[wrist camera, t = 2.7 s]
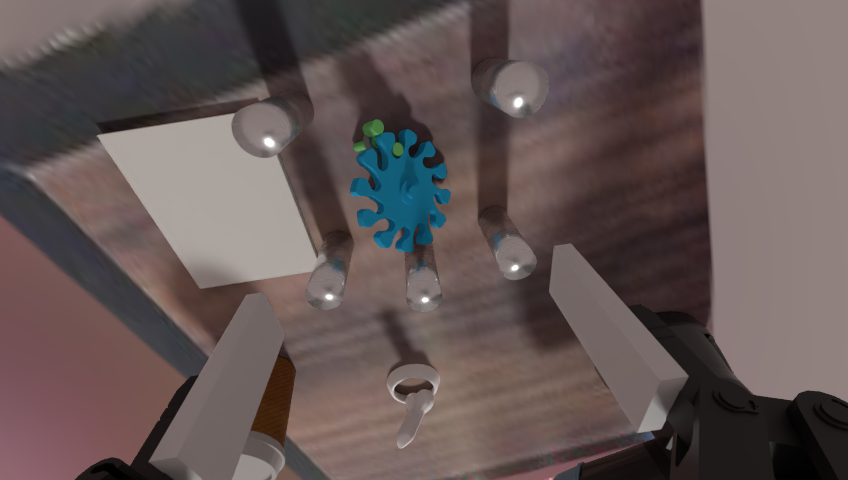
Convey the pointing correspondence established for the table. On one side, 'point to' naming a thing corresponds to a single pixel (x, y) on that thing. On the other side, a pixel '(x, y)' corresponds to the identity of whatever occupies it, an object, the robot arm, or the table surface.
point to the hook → (413, 398)
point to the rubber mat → (215, 200)
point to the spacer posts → (292, 113)
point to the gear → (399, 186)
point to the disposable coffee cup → (268, 427)
